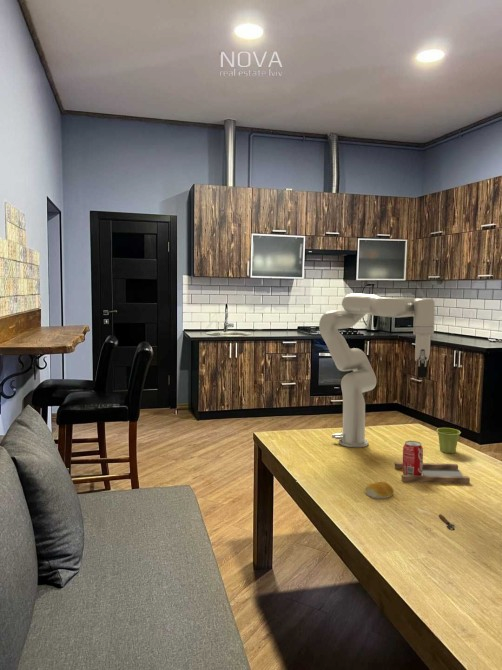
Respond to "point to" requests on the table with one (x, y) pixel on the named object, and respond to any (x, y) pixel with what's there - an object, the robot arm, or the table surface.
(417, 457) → the soda can
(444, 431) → the plant pot
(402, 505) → the table surface
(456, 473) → the pad
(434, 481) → the walnut rails
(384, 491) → the bread roll
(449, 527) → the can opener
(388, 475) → the table surface
